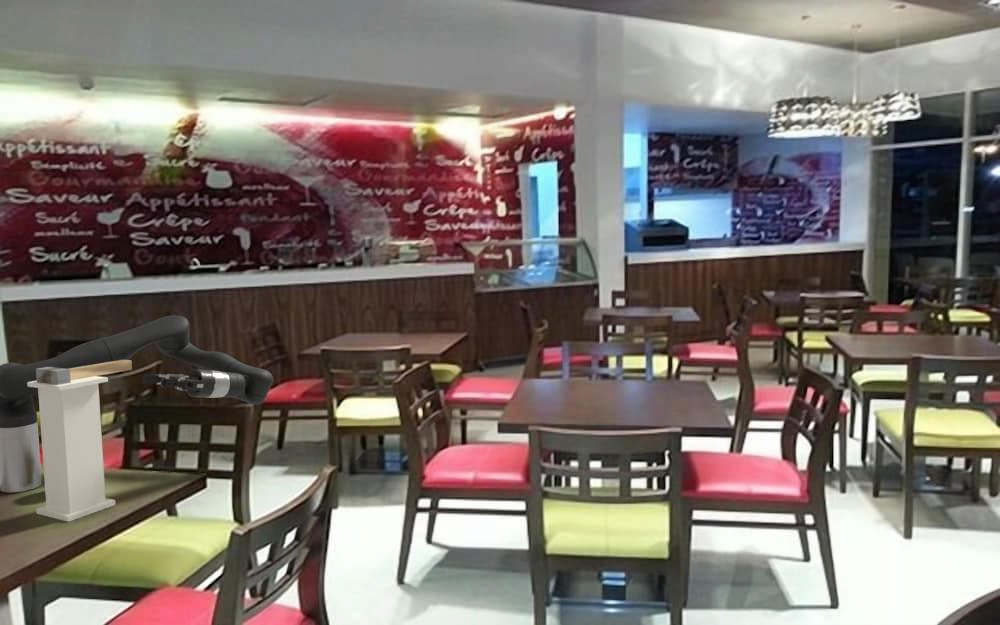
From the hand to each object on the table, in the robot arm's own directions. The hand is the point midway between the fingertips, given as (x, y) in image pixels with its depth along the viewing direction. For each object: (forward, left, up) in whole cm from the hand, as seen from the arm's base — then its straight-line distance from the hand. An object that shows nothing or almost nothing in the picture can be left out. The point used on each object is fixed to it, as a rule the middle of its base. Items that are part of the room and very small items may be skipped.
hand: (152, 380), depth 187 cm
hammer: (-7, -12, +3) cm, 14 cm away
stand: (-7, -18, -29) cm, 35 cm away
